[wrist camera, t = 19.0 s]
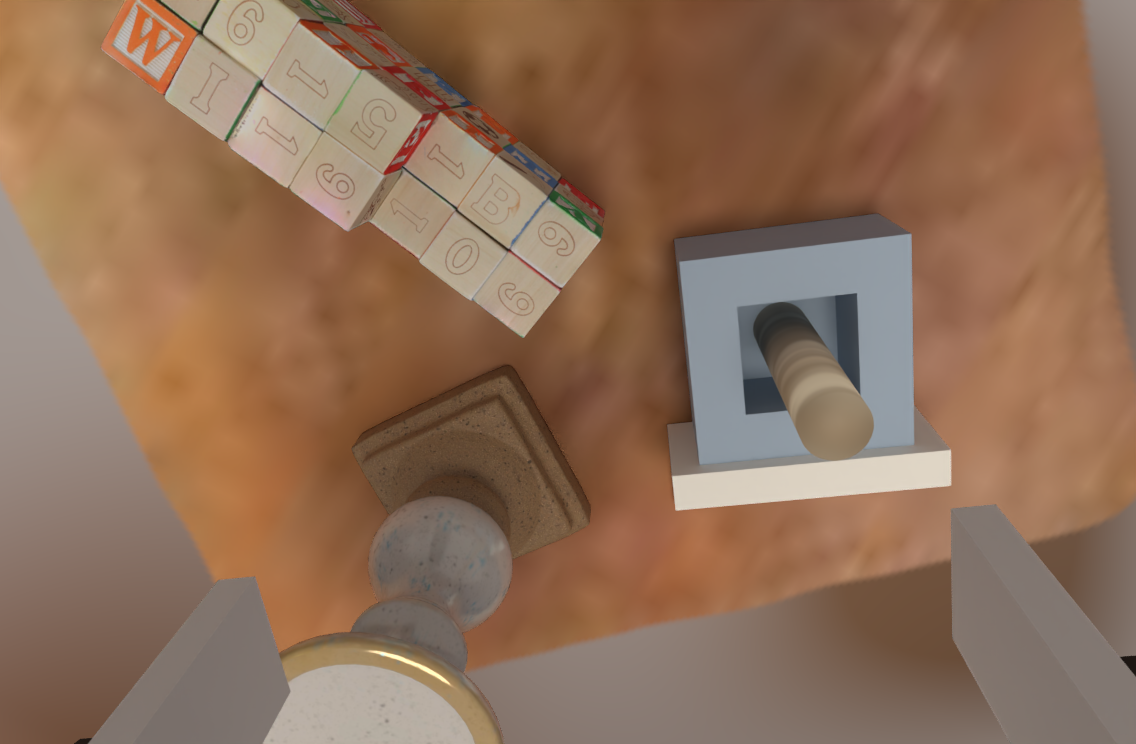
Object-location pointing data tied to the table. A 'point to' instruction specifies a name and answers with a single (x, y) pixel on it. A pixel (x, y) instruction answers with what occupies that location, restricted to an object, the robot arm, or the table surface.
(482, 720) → the candle holder
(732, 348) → the block
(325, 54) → the stack of blocks
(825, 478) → the wall
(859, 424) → the dowel
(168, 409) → the table surface
